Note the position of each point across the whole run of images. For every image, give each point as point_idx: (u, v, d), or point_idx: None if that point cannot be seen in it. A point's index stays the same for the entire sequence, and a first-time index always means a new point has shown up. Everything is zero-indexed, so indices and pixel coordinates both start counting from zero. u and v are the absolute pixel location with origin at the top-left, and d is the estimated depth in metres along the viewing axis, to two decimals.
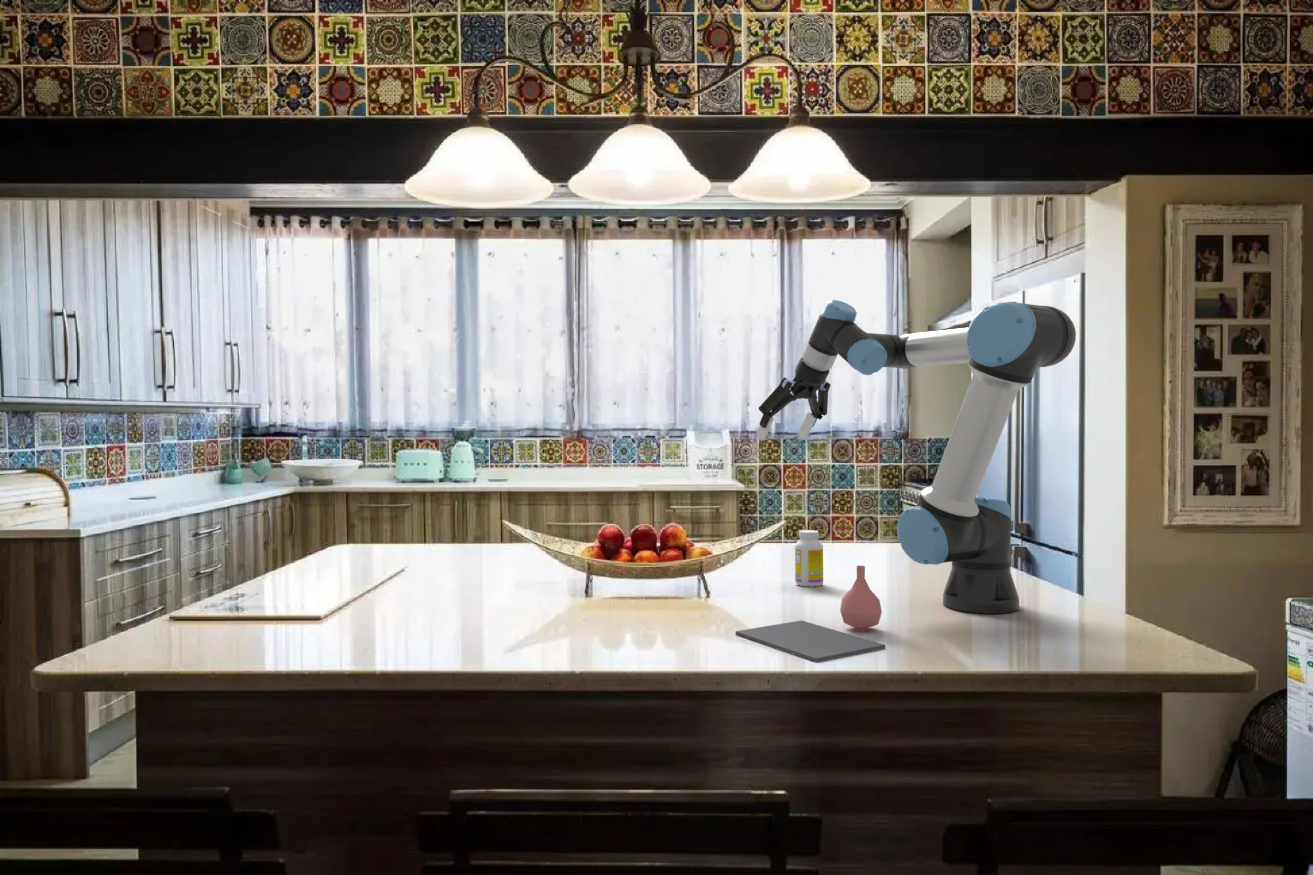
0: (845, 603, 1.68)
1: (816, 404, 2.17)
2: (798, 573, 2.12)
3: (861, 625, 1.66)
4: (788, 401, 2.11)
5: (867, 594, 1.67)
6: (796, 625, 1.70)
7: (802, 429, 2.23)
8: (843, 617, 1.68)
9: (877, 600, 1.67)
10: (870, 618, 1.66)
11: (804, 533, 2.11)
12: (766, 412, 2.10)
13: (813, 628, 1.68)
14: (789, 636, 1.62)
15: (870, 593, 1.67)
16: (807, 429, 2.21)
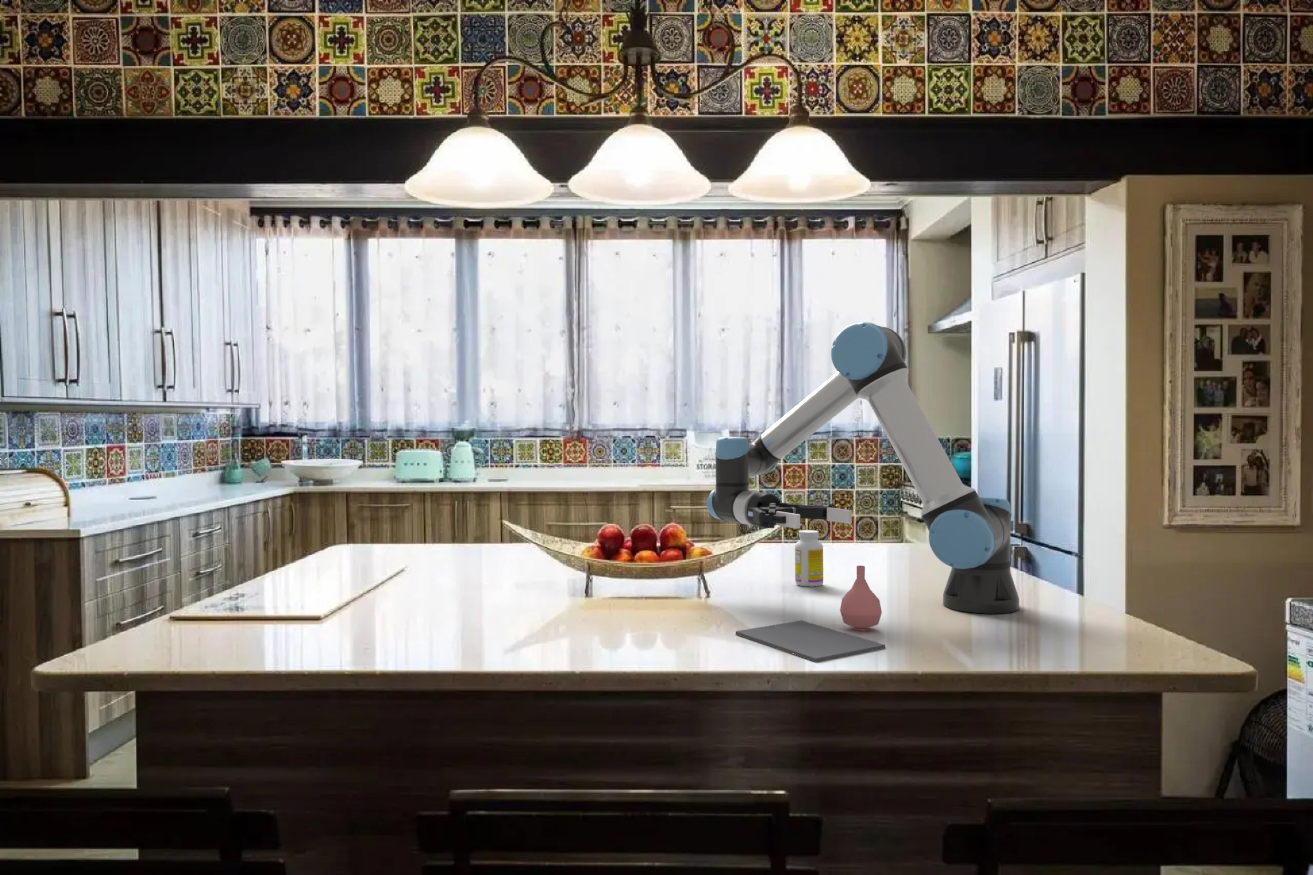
0: (845, 603, 1.68)
1: (809, 507, 1.89)
2: (798, 573, 2.12)
3: (861, 625, 1.66)
4: (772, 509, 1.84)
5: (867, 594, 1.67)
6: (796, 625, 1.70)
7: (842, 518, 1.82)
8: (843, 617, 1.68)
9: (877, 600, 1.67)
10: (870, 618, 1.66)
11: (804, 533, 2.11)
12: (761, 512, 1.79)
13: (813, 628, 1.68)
14: (789, 636, 1.62)
15: (870, 593, 1.67)
16: (839, 511, 1.83)
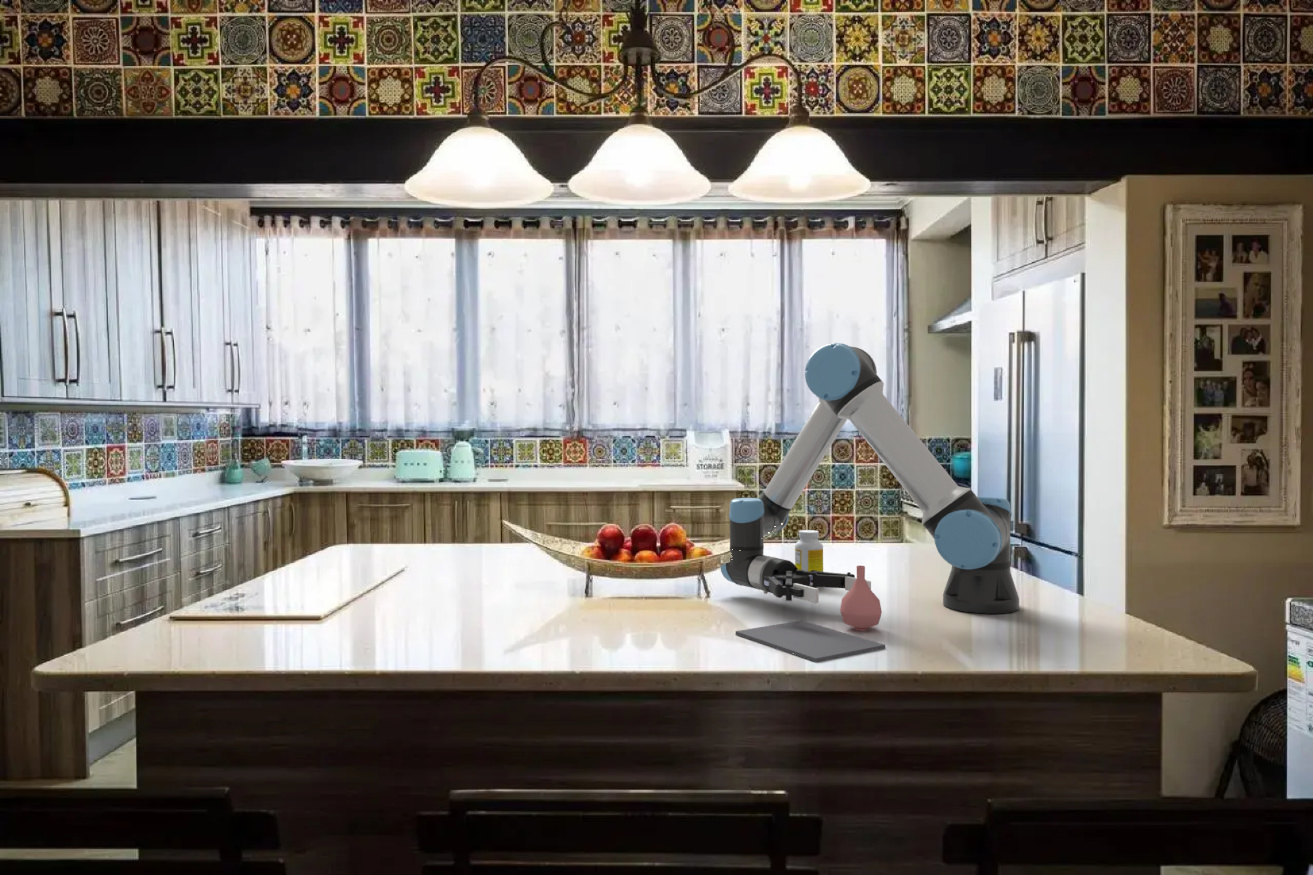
0: (845, 603, 1.68)
1: (826, 575, 1.84)
2: None
3: (861, 625, 1.66)
4: (788, 579, 1.80)
5: (867, 594, 1.67)
6: (796, 625, 1.70)
7: None
8: (843, 617, 1.68)
9: (877, 600, 1.67)
10: (870, 618, 1.66)
11: (804, 533, 2.11)
12: (778, 584, 1.74)
13: (813, 628, 1.68)
14: (789, 636, 1.62)
15: (870, 593, 1.67)
16: None
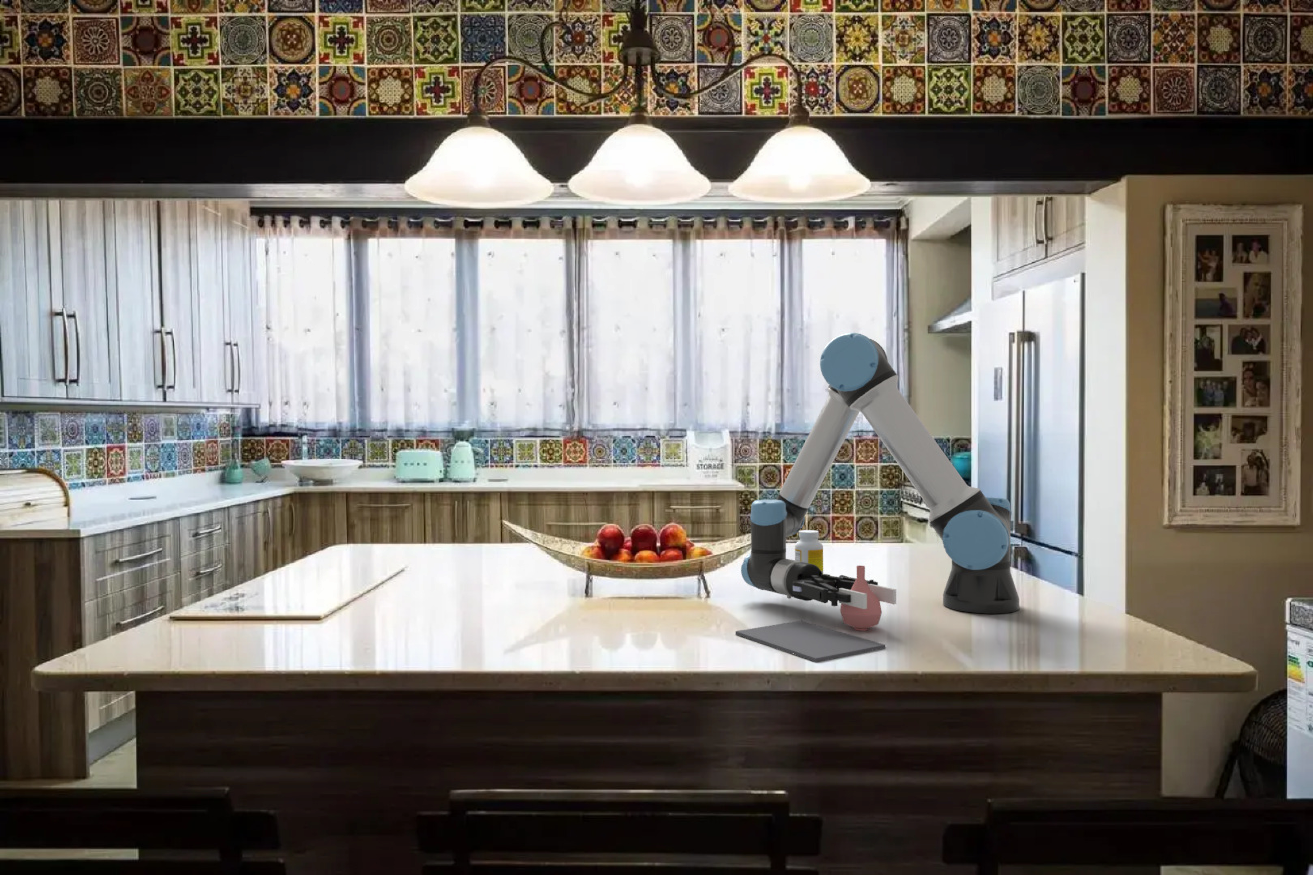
0: None
1: (850, 581, 1.76)
2: None
3: (861, 625, 1.66)
4: (823, 583, 1.74)
5: (867, 594, 1.67)
6: (796, 625, 1.70)
7: (886, 598, 1.68)
8: (843, 617, 1.68)
9: (877, 600, 1.67)
10: (870, 618, 1.66)
11: (804, 533, 2.11)
12: (823, 589, 1.68)
13: (813, 628, 1.68)
14: (789, 636, 1.62)
15: (870, 593, 1.67)
16: (881, 589, 1.69)
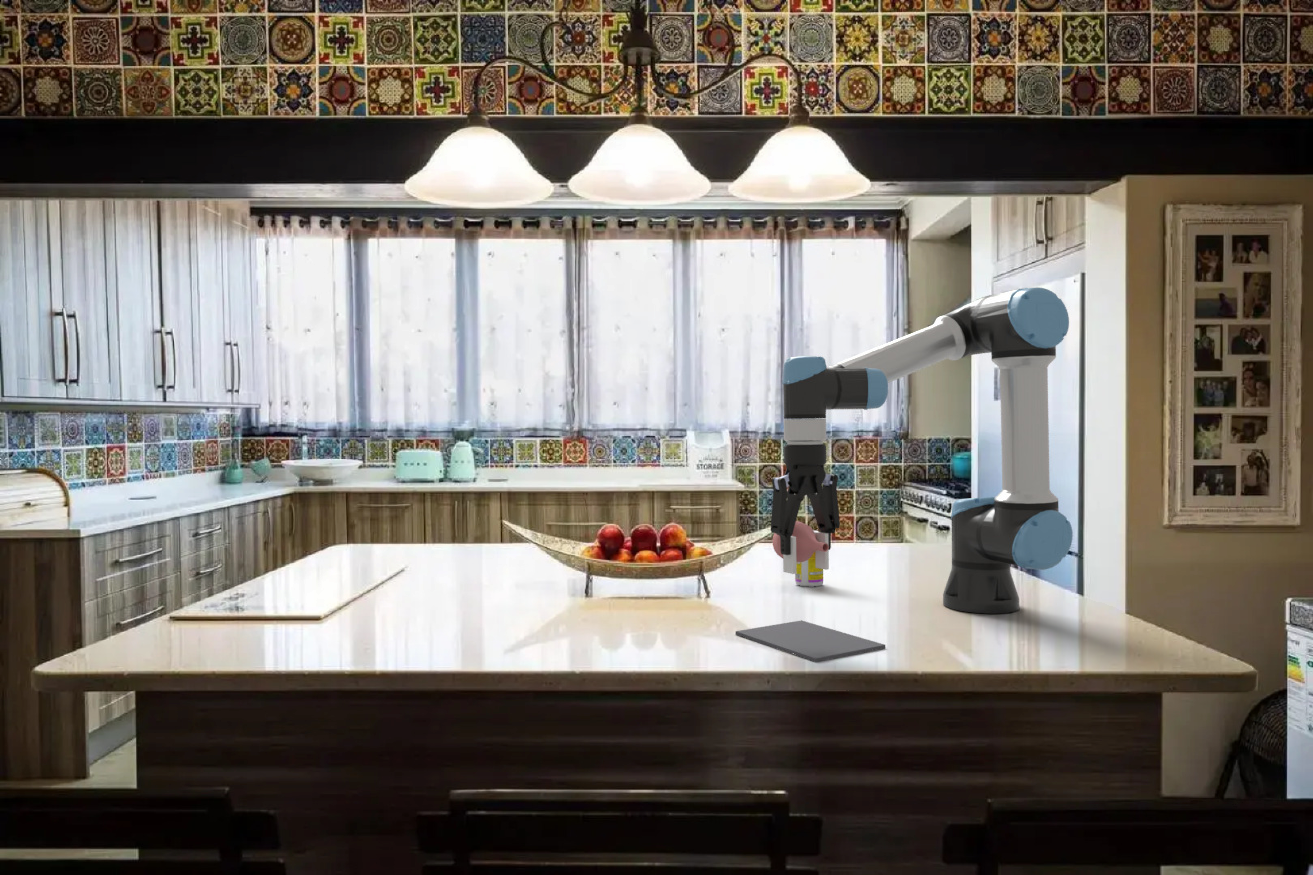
0: None
1: (824, 507, 1.61)
2: (798, 573, 2.12)
3: (777, 554, 1.64)
4: (797, 504, 1.58)
5: (805, 556, 1.60)
6: (796, 625, 1.70)
7: (818, 558, 1.63)
8: (775, 536, 1.63)
9: (808, 558, 1.62)
10: None
11: None
12: (781, 529, 1.56)
13: (813, 628, 1.68)
14: (789, 636, 1.62)
15: (809, 555, 1.61)
16: (823, 553, 1.62)
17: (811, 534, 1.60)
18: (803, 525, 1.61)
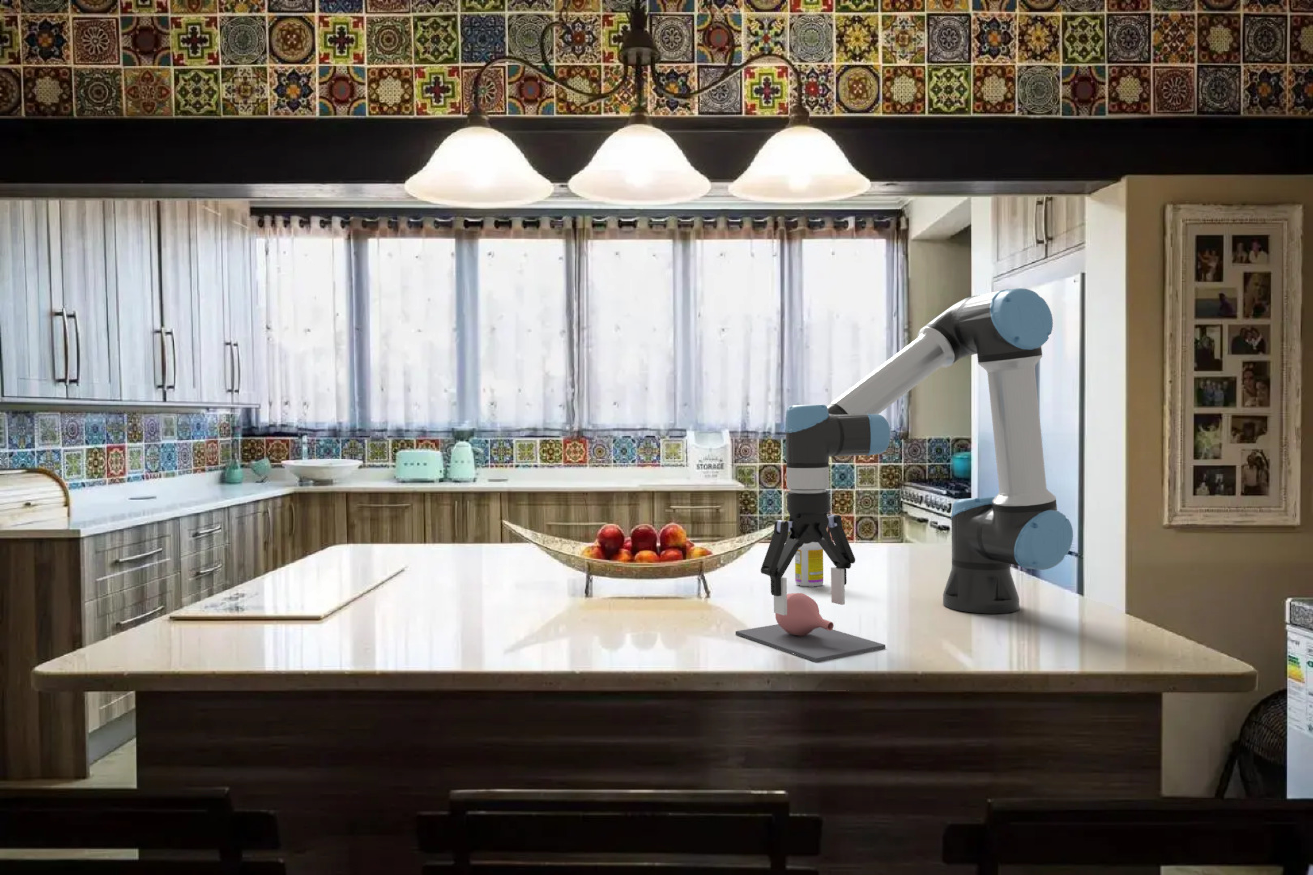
0: (789, 618, 1.59)
1: (834, 548, 1.62)
2: (798, 573, 2.12)
3: None
4: (794, 549, 1.57)
5: (809, 631, 1.60)
6: None
7: (834, 593, 1.64)
8: None
9: (811, 631, 1.62)
10: None
11: None
12: (771, 570, 1.54)
13: None
14: (789, 636, 1.62)
15: (812, 629, 1.60)
16: (839, 588, 1.63)
17: (815, 609, 1.60)
18: (806, 599, 1.60)
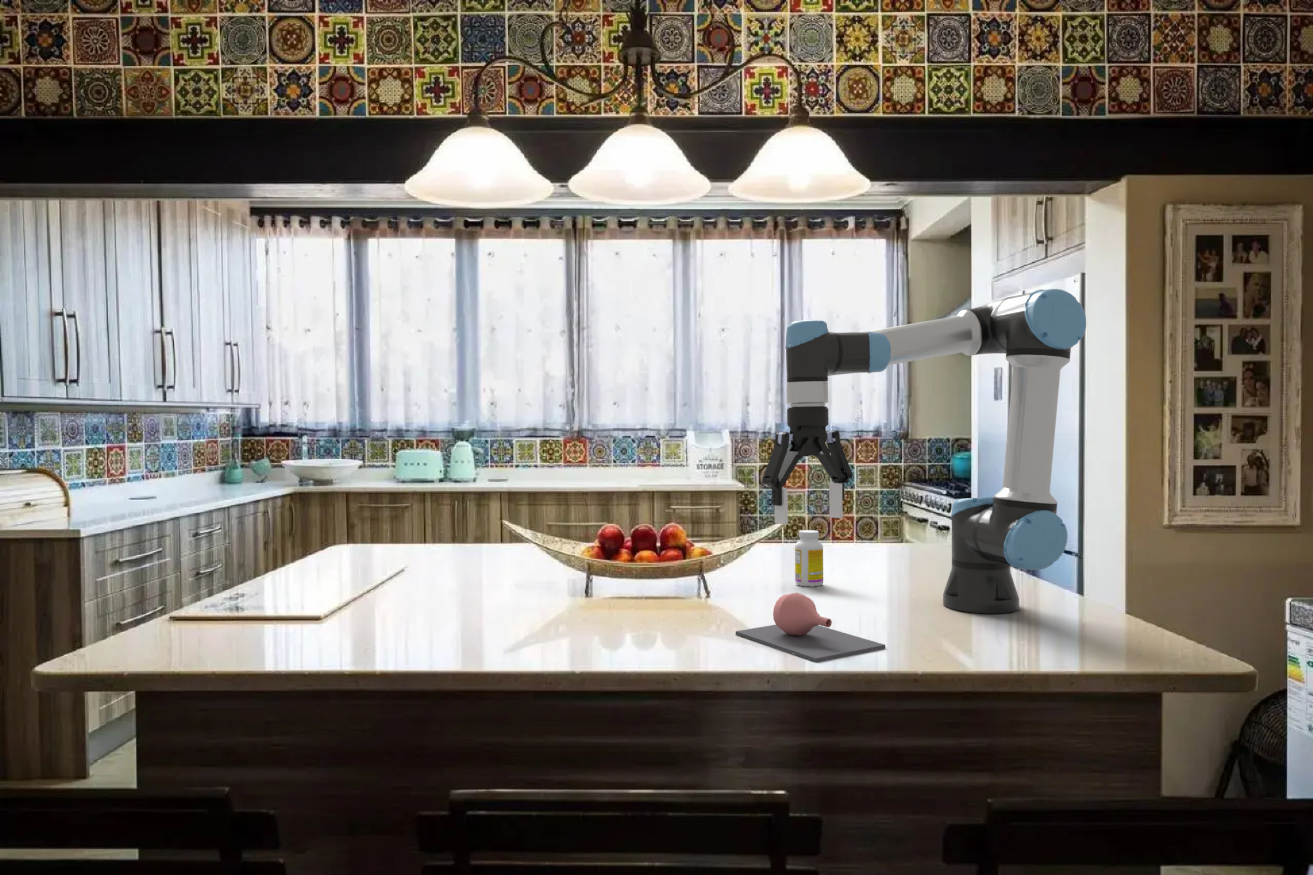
0: (787, 619, 1.59)
1: (833, 462, 1.66)
2: (798, 573, 2.12)
3: None
4: (795, 460, 1.61)
5: (808, 630, 1.60)
6: None
7: (832, 507, 1.69)
8: (776, 612, 1.62)
9: None
10: None
11: (804, 533, 2.11)
12: (773, 479, 1.58)
13: (813, 628, 1.68)
14: (789, 636, 1.62)
15: (811, 628, 1.60)
16: (838, 502, 1.68)
17: (811, 607, 1.60)
18: (802, 599, 1.60)
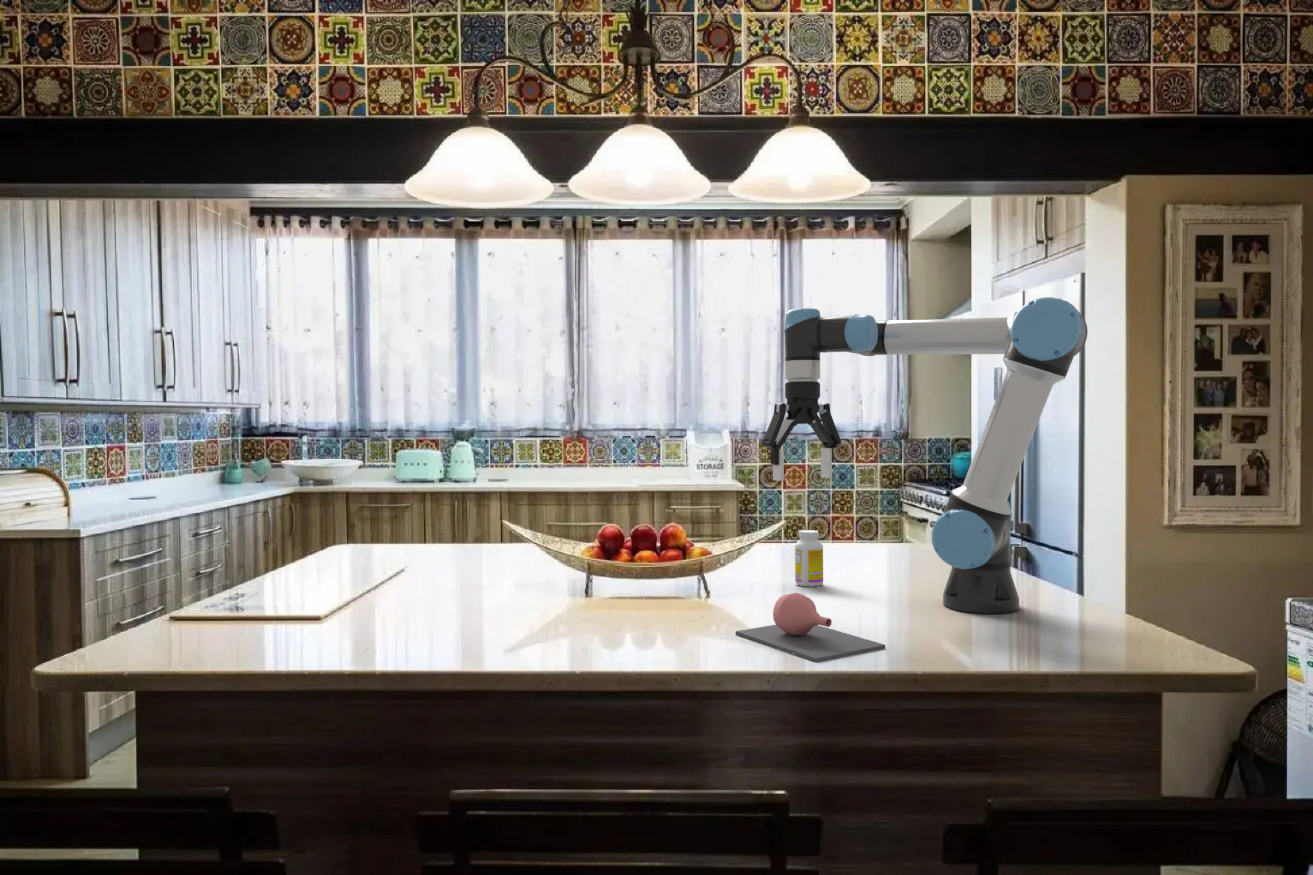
0: (787, 619, 1.59)
1: (824, 430, 1.95)
2: (798, 573, 2.12)
3: None
4: (790, 427, 1.90)
5: (808, 629, 1.60)
6: None
7: (823, 469, 1.98)
8: (776, 612, 1.62)
9: None
10: None
11: (804, 533, 2.11)
12: (771, 442, 1.87)
13: (813, 628, 1.68)
14: (789, 636, 1.62)
15: (811, 628, 1.60)
16: (827, 464, 1.96)
17: (811, 607, 1.60)
18: (802, 598, 1.61)
